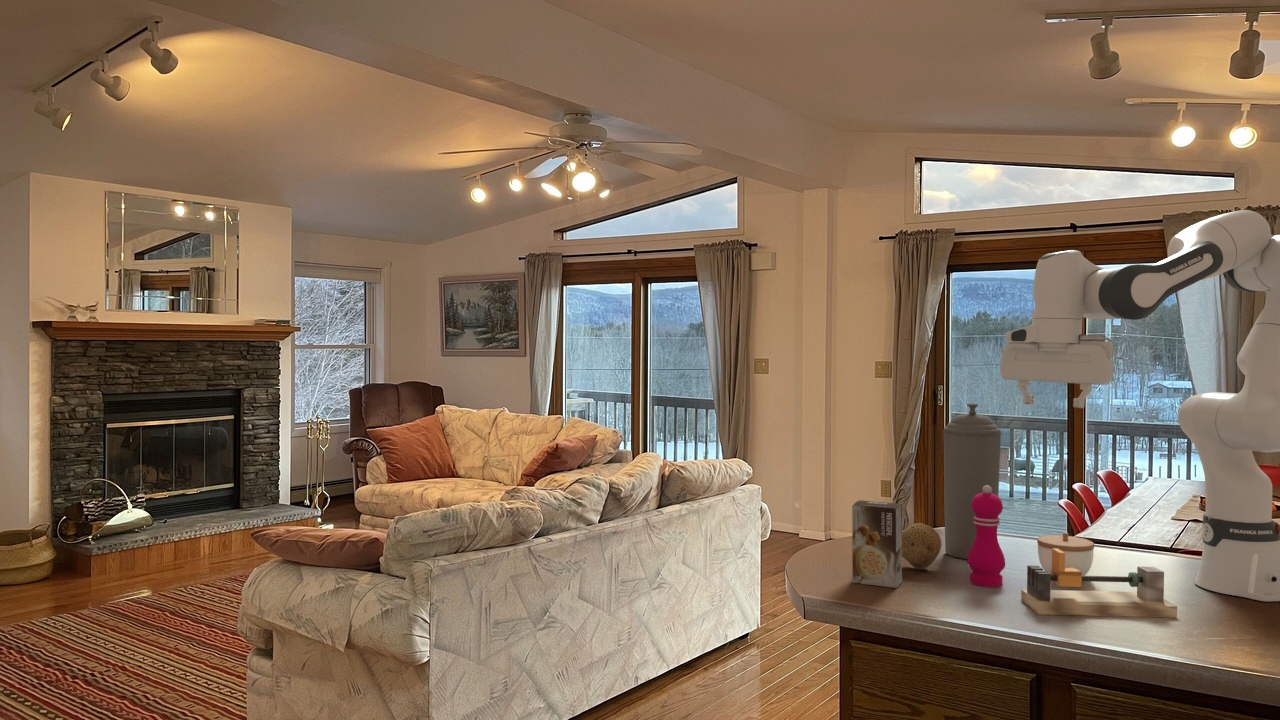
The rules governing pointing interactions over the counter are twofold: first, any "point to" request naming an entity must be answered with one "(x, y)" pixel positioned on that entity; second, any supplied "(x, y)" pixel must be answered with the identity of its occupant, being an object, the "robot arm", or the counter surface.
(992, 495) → the pepper mill
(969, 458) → the canister
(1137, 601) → the cord board
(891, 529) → the coffee box
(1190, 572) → the counter surface
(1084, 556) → the lidded jar
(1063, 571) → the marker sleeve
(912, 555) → the natural sponge
